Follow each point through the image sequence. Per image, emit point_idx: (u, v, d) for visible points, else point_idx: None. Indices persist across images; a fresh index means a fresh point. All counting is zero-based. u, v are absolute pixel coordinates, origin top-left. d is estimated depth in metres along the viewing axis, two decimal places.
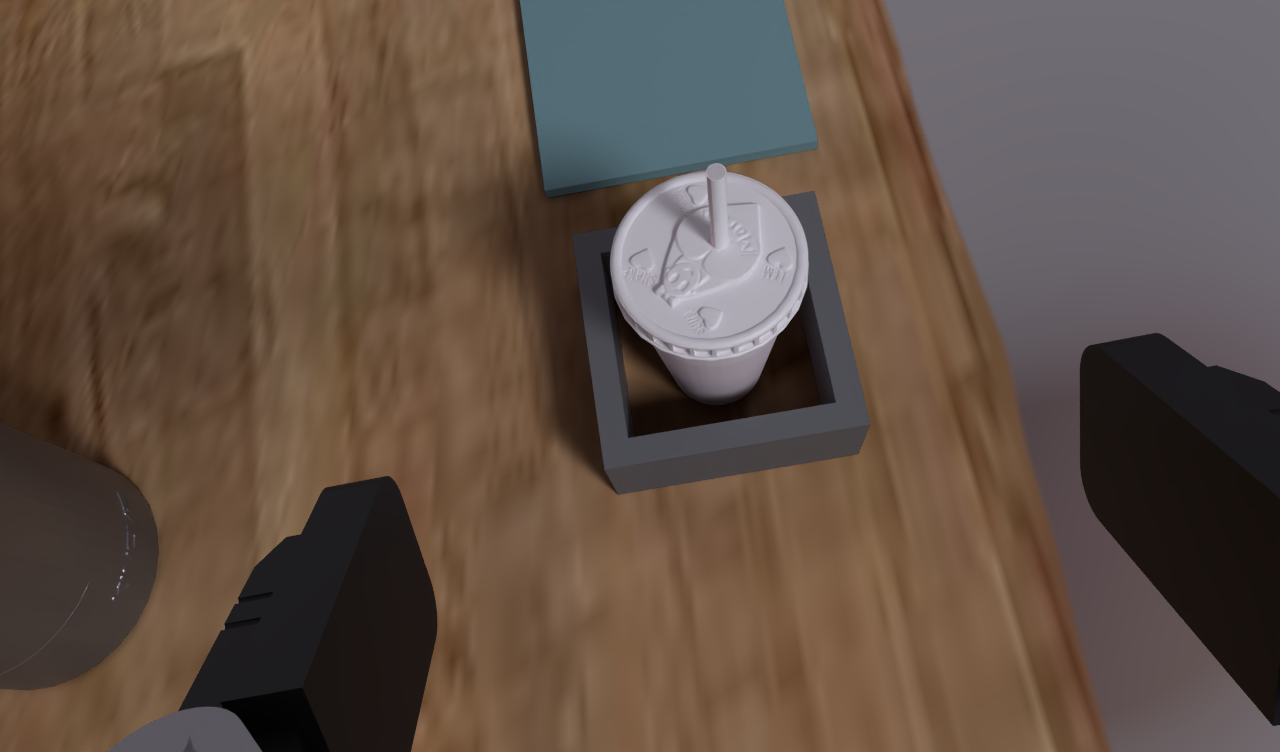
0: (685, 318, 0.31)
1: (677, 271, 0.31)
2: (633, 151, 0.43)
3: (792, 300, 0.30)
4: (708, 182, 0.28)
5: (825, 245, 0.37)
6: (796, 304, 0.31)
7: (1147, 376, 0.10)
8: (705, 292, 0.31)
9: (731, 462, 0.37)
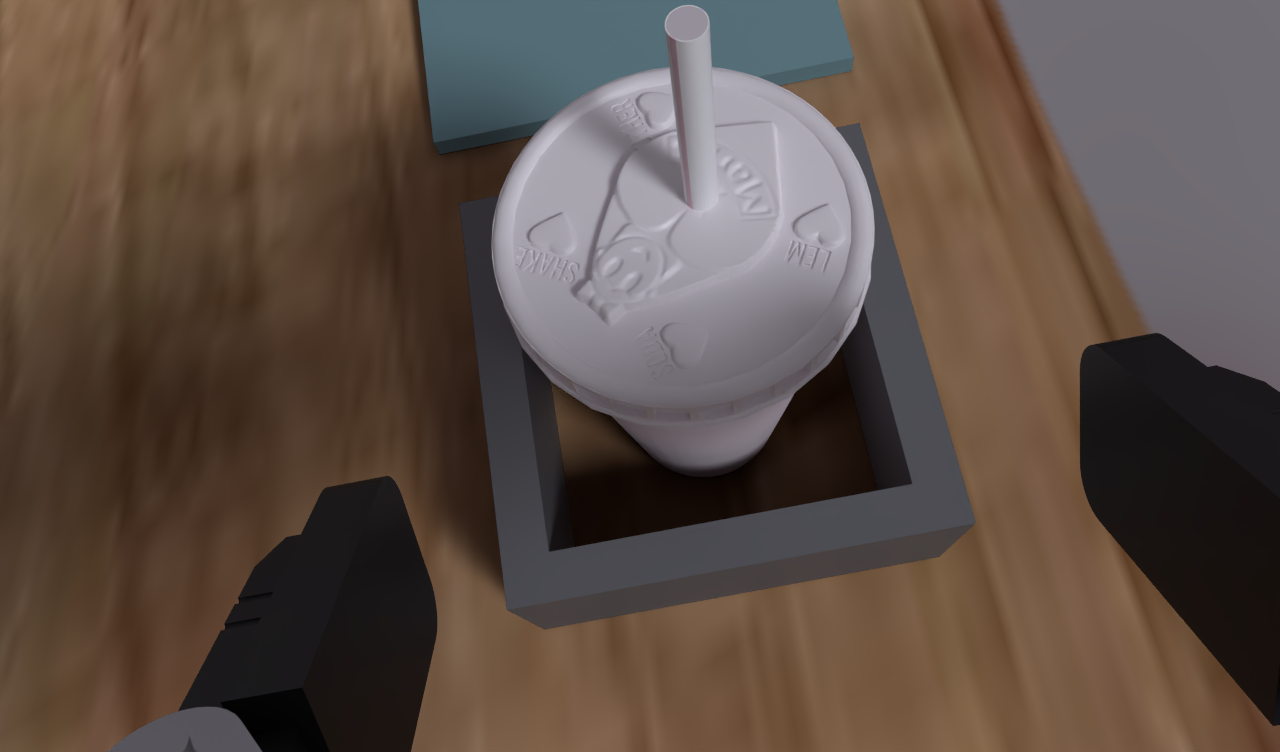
0: (636, 346, 0.16)
1: (619, 254, 0.16)
2: (569, 80, 0.28)
3: (847, 307, 0.15)
4: (670, 49, 0.12)
5: (881, 211, 0.22)
6: (852, 314, 0.16)
7: (1147, 376, 0.10)
8: (675, 295, 0.16)
9: (730, 583, 0.22)
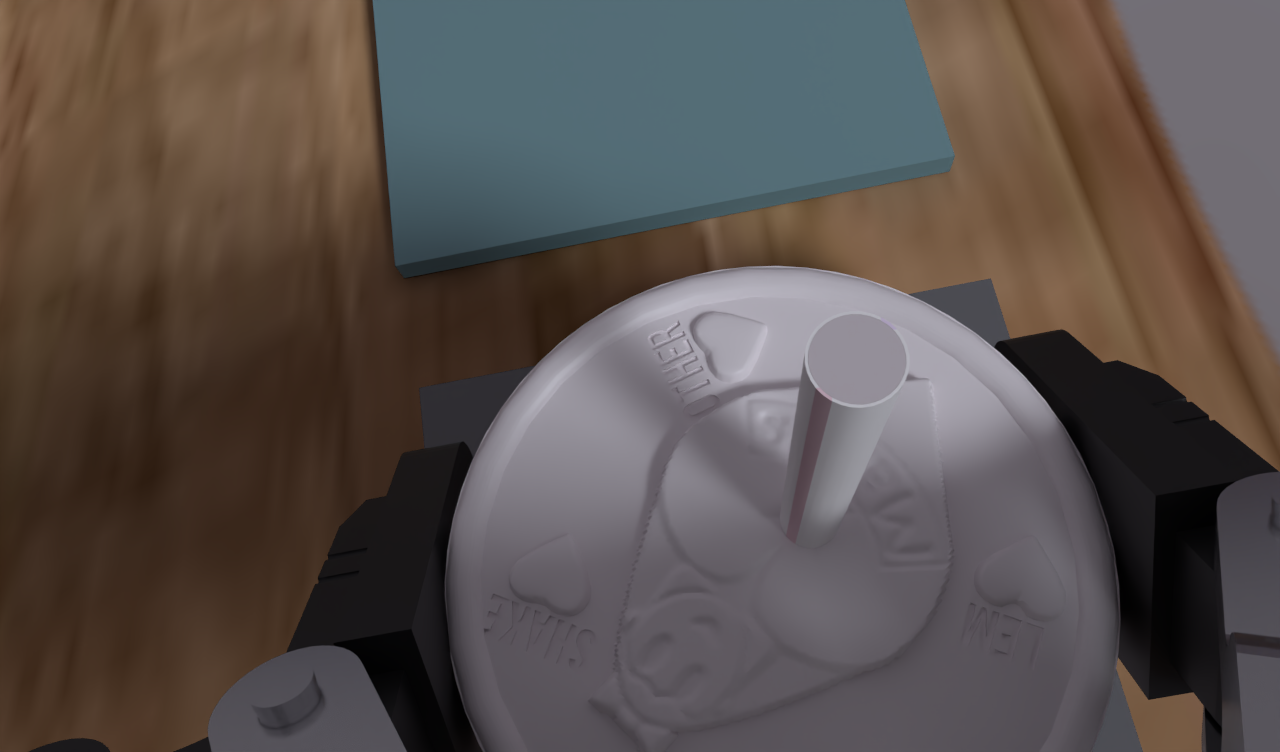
0: None
1: (666, 627, 0.09)
2: (576, 182, 0.21)
3: (1082, 749, 0.08)
4: (813, 404, 0.06)
5: None
6: None
7: (1044, 370, 0.10)
8: (768, 708, 0.09)
9: None
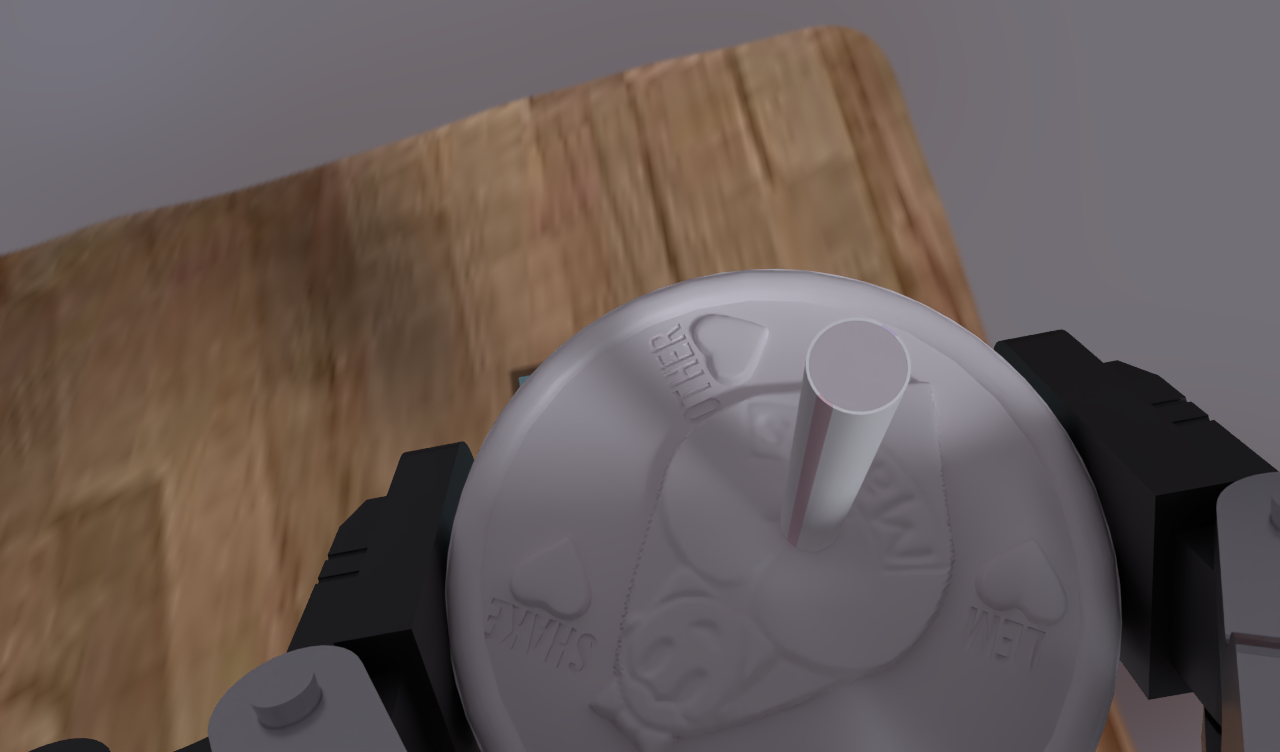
0: None
1: (667, 631, 0.09)
2: None
3: None
4: (814, 410, 0.05)
5: None
6: None
7: (1044, 370, 0.10)
8: (768, 712, 0.09)
9: None
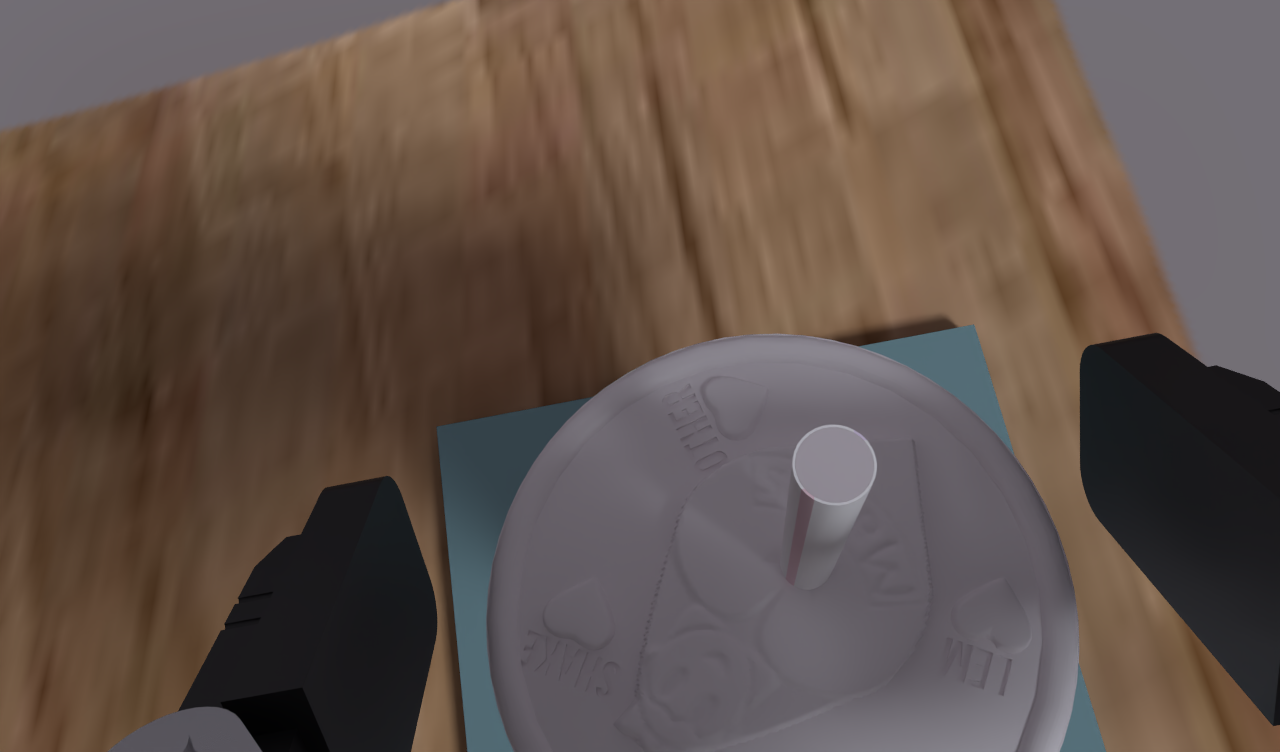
0: None
1: (682, 660, 0.10)
2: None
3: None
4: (800, 498, 0.07)
5: None
6: None
7: (1147, 377, 0.10)
8: (770, 730, 0.10)
9: None
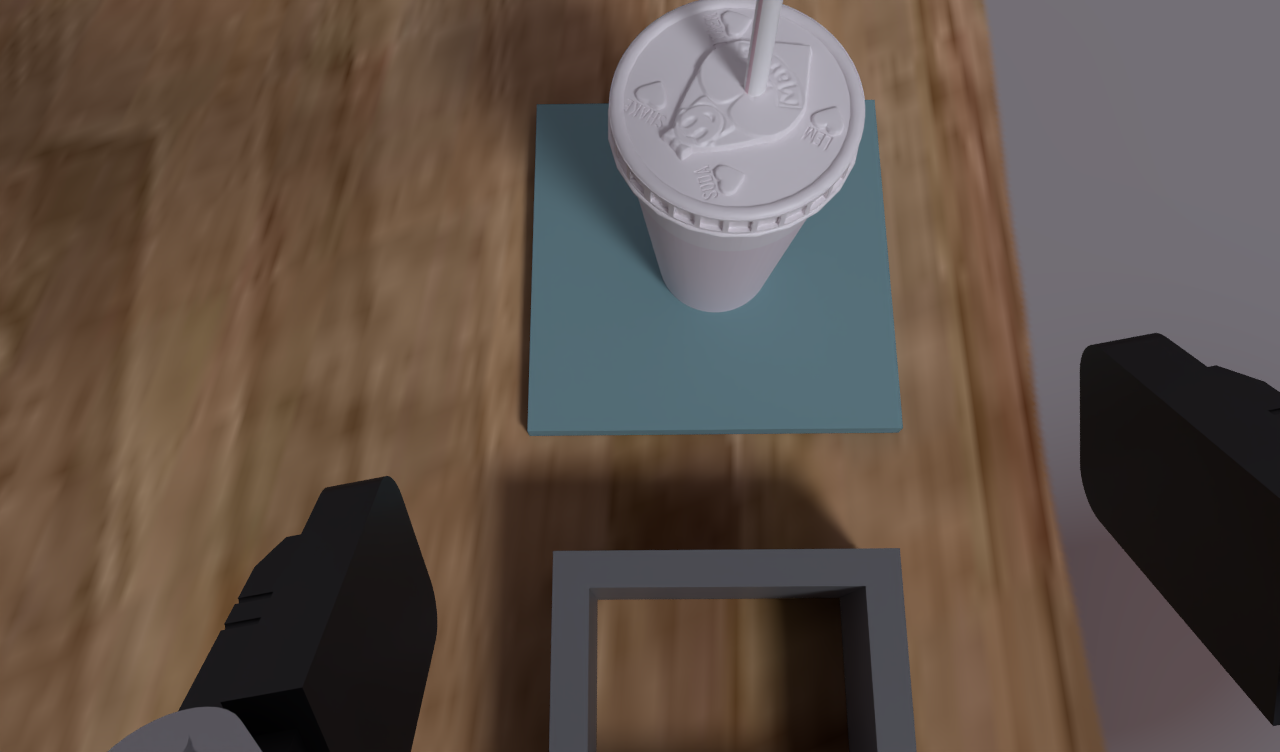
0: (696, 176, 0.24)
1: (695, 114, 0.24)
2: (654, 395, 0.32)
3: (836, 174, 0.24)
4: None
5: (904, 637, 0.26)
6: (838, 183, 0.24)
7: (1147, 376, 0.10)
8: (727, 147, 0.24)
9: None
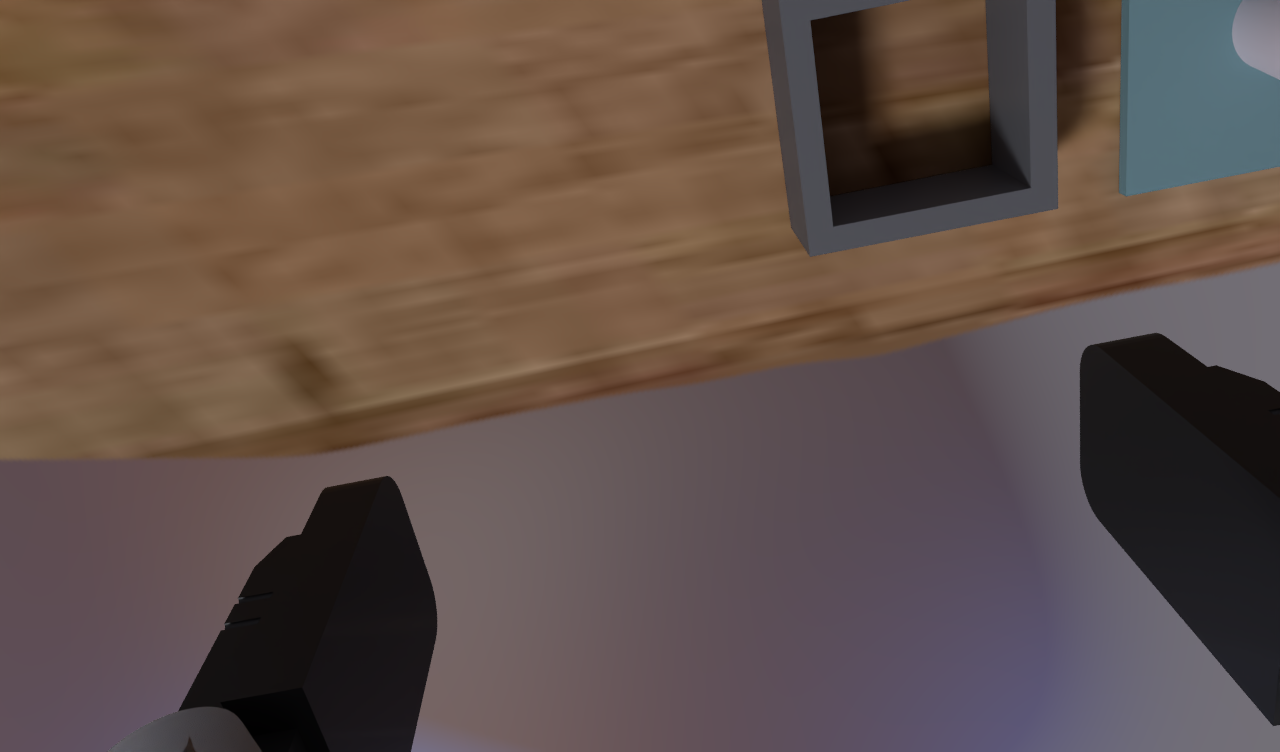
0: None
1: None
2: None
3: None
4: None
5: (995, 218, 0.38)
6: None
7: (1147, 376, 0.10)
8: None
9: (784, 117, 0.38)
